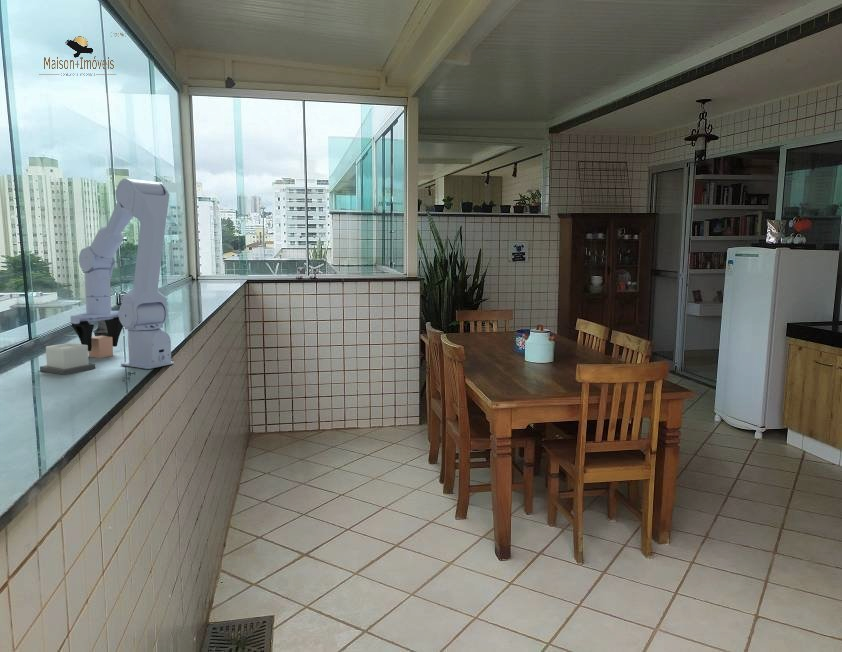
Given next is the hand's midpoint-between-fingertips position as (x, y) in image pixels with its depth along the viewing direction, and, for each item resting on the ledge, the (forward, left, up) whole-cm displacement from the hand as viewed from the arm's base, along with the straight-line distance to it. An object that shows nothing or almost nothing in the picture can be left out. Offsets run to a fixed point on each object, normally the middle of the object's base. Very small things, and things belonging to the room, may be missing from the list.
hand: (100, 348), depth 159 cm
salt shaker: (+16, -14, -2) cm, 21 cm away
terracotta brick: (0, 0, -2) cm, 2 cm away
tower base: (-8, +15, -2) cm, 17 cm away
